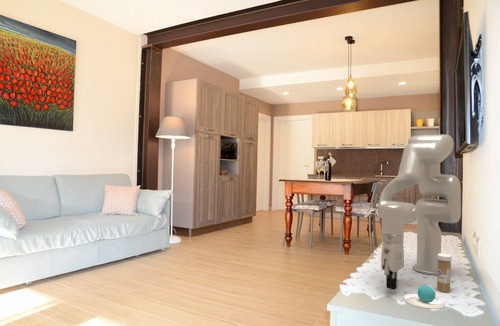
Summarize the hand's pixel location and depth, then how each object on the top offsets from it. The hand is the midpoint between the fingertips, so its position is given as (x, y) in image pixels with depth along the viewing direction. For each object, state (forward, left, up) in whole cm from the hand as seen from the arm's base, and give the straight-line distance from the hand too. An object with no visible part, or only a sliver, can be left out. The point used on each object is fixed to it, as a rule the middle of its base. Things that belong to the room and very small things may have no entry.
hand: (391, 288), depth 128 cm
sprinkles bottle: (-16, +13, -2) cm, 21 cm away
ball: (0, +12, +1) cm, 12 cm away
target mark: (0, +11, -2) cm, 11 cm away
